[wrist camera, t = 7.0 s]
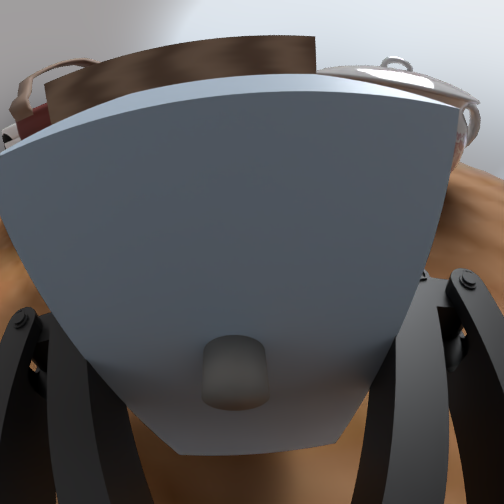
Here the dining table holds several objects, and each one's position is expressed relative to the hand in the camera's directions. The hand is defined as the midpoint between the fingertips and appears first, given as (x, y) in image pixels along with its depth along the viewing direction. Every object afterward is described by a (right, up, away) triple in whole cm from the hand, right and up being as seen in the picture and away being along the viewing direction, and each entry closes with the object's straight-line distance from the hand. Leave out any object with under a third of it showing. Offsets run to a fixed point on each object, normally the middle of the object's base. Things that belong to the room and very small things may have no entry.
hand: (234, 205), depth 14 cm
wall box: (+1, -9, 0) cm, 9 cm away
